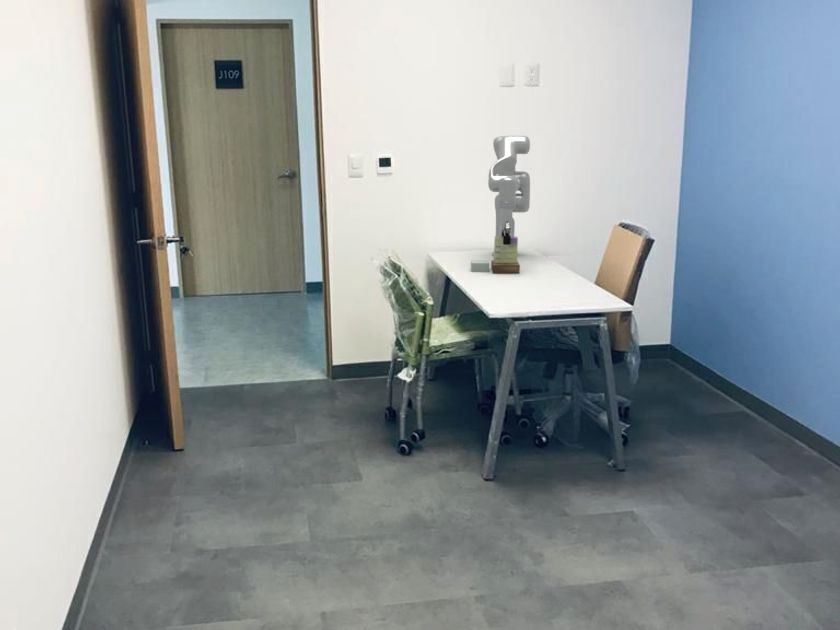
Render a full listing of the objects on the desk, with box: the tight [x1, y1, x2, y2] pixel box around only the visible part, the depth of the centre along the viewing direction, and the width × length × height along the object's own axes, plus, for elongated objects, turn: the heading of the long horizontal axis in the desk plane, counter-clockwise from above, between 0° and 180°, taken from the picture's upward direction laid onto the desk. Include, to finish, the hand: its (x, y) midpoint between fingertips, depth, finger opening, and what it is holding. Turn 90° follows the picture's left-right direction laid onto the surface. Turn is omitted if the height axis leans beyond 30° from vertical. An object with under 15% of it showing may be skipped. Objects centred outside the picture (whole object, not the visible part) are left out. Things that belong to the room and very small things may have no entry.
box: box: [493, 235, 519, 264], centre depth 366 cm, size 10×6×12 cm, turn 87°
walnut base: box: [490, 259, 521, 275], centre depth 368 cm, size 12×12×4 cm
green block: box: [470, 259, 490, 273], centre depth 370 cm, size 8×8×4 cm
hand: (505, 242), depth 365 cm, fingers open, 9 cm apart
